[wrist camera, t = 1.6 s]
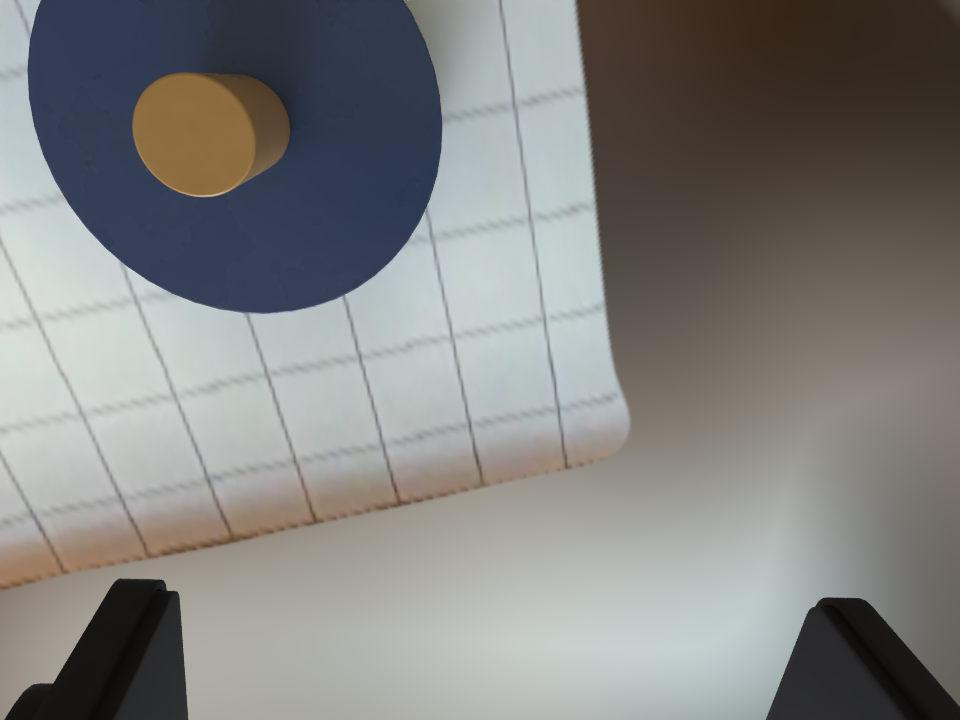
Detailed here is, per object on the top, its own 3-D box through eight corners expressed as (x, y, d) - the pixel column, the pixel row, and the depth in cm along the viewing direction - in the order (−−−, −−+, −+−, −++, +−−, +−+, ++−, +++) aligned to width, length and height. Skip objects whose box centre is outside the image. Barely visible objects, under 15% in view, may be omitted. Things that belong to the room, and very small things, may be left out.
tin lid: (68, 285, 24) (-41, 349, 18) (22, -140, 19) (-146, -233, 13) (422, 319, 26) (423, 387, 20) (461, -66, 21) (477, -121, 15)
